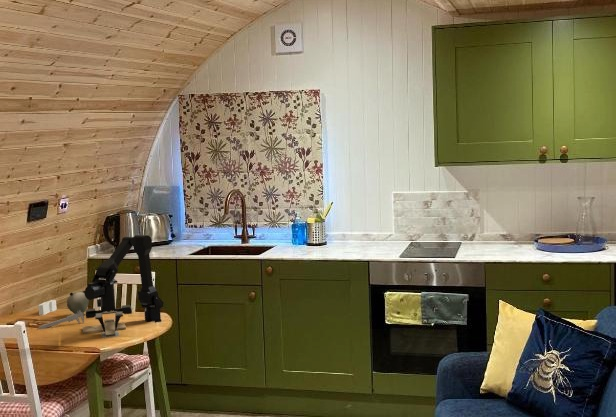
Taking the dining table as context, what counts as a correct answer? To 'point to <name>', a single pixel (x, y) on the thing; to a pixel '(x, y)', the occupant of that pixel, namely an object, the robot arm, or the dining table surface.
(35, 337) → the dining table surface
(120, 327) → the oak board
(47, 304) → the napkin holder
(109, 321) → the block
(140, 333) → the dining table surface
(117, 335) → the mat
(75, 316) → the caliper
